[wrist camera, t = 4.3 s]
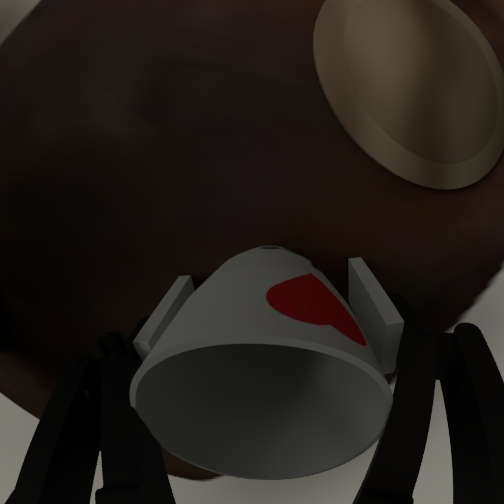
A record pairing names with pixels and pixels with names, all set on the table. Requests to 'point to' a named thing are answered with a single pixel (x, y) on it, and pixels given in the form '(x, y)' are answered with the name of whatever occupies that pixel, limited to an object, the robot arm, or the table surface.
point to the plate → (413, 87)
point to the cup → (263, 373)
